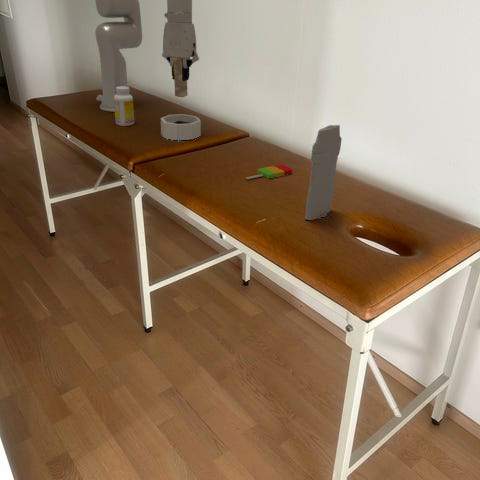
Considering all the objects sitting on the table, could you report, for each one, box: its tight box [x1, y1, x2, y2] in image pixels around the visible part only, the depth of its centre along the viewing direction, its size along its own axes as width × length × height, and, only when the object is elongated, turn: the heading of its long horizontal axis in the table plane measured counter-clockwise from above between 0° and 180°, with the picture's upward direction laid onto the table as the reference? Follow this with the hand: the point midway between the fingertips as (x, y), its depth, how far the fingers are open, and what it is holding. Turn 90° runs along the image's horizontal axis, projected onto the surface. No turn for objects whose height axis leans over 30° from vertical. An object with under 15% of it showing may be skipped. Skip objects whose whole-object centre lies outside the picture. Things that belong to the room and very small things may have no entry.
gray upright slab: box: [304, 124, 343, 220], centre depth 119 cm, size 11×4×22 cm, turn 136°
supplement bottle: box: [114, 86, 135, 127], centre depth 183 cm, size 7×7×13 cm
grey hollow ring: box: [160, 113, 202, 142], centre depth 175 cm, size 13×13×6 cm
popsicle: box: [245, 164, 293, 180], centre depth 146 cm, size 6×15×2 cm, turn 126°
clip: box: [174, 120, 190, 124], centre depth 175 cm, size 6×6×3 cm
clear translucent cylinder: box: [173, 57, 189, 98], centre depth 166 cm, size 3×3×14 cm
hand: (180, 79), depth 167 cm, fingers closed on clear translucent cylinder, 3 cm apart
